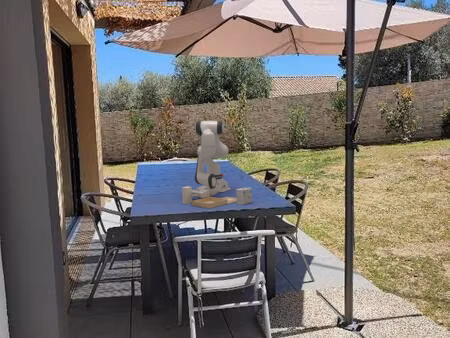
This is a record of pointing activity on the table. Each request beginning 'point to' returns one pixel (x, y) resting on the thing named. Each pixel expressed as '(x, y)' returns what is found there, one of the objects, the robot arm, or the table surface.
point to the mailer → (213, 202)
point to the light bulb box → (243, 196)
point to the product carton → (187, 195)
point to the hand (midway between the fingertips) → (187, 195)
